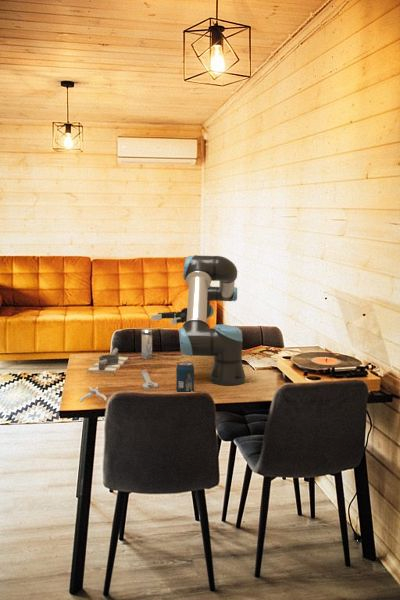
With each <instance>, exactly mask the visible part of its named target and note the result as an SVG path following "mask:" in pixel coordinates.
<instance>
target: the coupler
mask: <svg viewBox="0 0 400 600" xmlns="http://www.w3.org/2000/svg"><path fill="white" fill-rule="evenodd" d="M140 332H141V333H140V335H141V359H144V360H150V358H151V359H153V328H149V327H148V328H142V329H141V331H140Z"/></svg>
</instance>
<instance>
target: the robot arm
mask: <svg viewBox="0 0 400 600" xmlns="http://www.w3.org/2000/svg"><path fill="white" fill-rule="evenodd" d="M182 271H183V272H182V273H183V276H182V277H183V279H184V281H186V284H187V285H188V295H187V297H188V298H187V307H184V308H182V309H181V311H169V312H158V313H156V314H153V315H150V316H151V320H150V321H152V322H153V321H161V320H162V319H170V325H176V324H183V325H182V327H179V328H178V334H179V335H178V337H179V345H180V348H179V349H180V354H181V355H183V356H188V357H194V356H195V357H198V356H199V357H201V356H202V357H213V365H212V367H211V370H210V373H209V381H210V382H211V383H212V384H215V385H219V386H238V385H241V384H244V383H245V382H246V373H245V369H244V367H243V366H244V365H243V362H242V361H243V357H242V356H243V341H244V340H243V331H242V329H240V328H238V327H237V326H235V325H230V324H229V325H228V324H223V323H222V324H220V323H219V324H215V325H214V328H211V327H210V325H209V323H208V322H207V319H209V318H211V317H213V316H214V312H215V311H214V306H213V305H212V304H210V302H211V301H212V302H215V301H216V302H236V301H237V300H238V288H237V287H235V282H236V280H237V278H238V269H237V266H236V265H235V263H233V261H231V260H230V259H229V258H227V257H225V256H222V255H197V254H194V255H188V256H187V257H185V261H184V265H183V270H182ZM215 281H216V282H218V281H219V284H218V285H219V286H211V283H212V282H215Z"/></svg>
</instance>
